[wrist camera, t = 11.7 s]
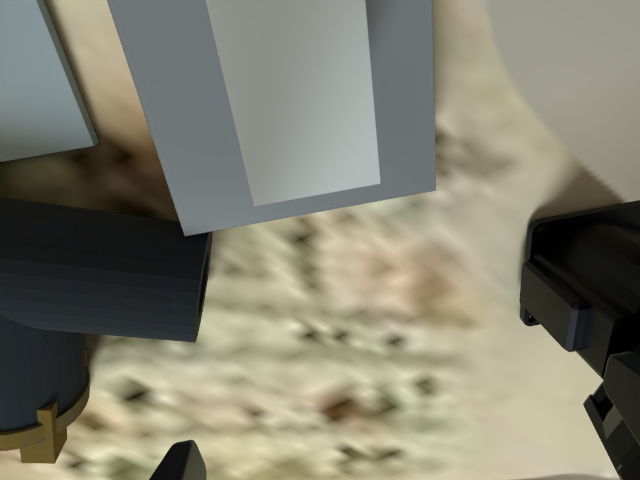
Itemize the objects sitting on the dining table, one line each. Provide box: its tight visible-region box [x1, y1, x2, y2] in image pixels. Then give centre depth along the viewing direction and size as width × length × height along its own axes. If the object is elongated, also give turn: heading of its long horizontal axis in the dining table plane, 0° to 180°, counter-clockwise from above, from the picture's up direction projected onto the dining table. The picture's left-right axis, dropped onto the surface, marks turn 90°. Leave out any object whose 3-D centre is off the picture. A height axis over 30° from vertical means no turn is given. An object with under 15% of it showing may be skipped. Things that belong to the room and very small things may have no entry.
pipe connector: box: [0, 197, 212, 464], centre depth 18 cm, size 12×5×15 cm
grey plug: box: [206, 0, 381, 206], centre depth 13 cm, size 3×5×9 cm, turn 8°
